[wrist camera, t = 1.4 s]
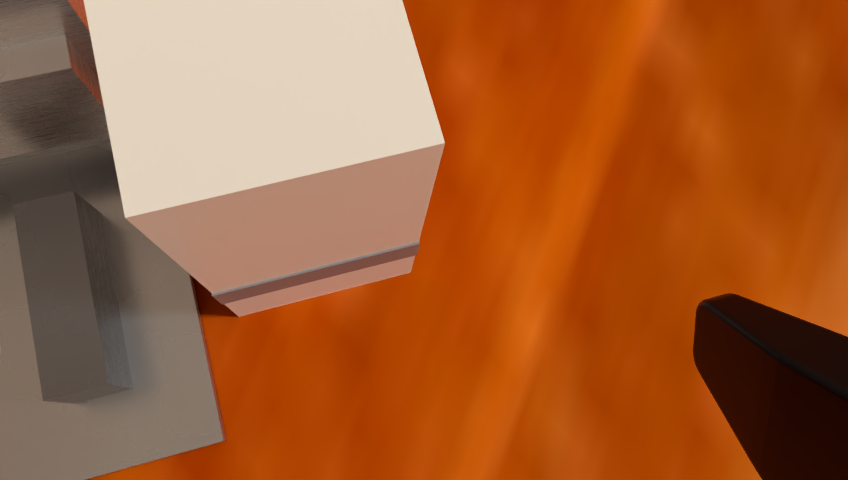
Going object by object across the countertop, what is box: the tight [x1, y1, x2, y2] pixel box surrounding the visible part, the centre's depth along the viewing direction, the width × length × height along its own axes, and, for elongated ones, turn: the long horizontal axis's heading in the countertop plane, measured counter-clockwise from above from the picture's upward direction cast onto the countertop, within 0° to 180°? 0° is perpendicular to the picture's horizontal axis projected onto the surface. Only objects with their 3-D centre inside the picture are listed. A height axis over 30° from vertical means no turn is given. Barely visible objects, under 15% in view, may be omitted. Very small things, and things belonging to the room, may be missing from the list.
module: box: [84, 0, 445, 317], centre depth 17 cm, size 5×5×10 cm
